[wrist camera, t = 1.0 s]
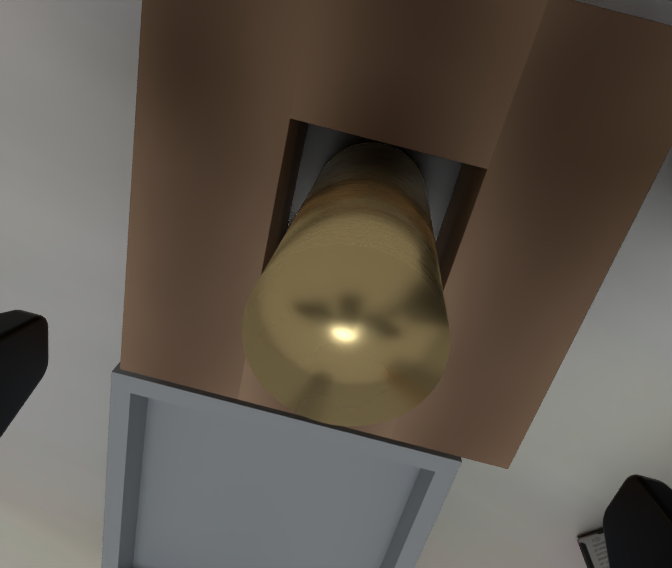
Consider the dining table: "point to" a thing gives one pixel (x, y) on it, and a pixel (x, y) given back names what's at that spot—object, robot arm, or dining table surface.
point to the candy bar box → (594, 550)
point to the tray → (258, 485)
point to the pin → (353, 296)
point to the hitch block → (408, 132)
